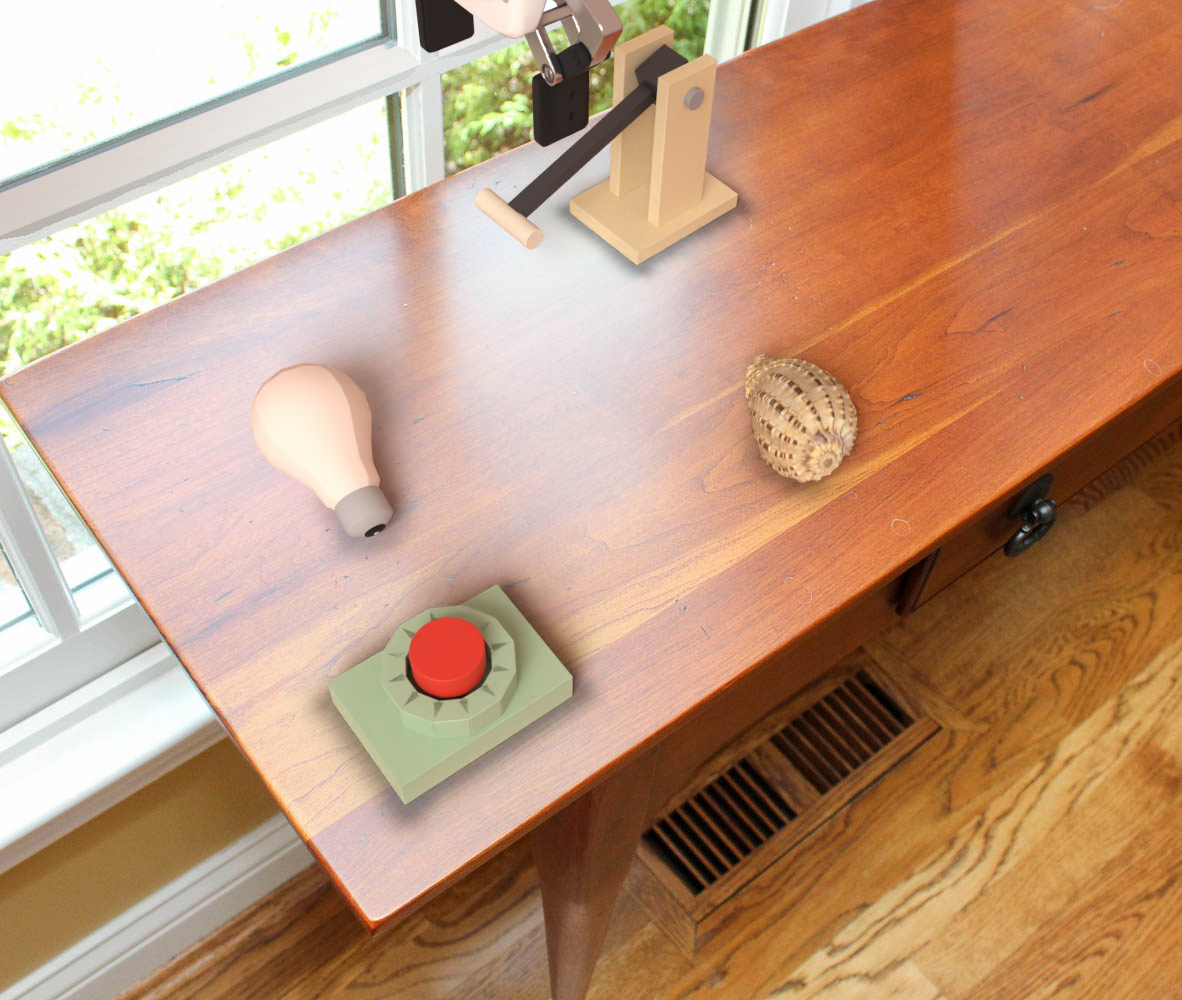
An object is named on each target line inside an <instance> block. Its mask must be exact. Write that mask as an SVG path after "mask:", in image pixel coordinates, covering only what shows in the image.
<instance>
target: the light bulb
mask: <svg viewBox="0 0 1182 1000" xmlns="http://www.w3.org/2000/svg"><path fill="white" fill-rule="evenodd" d="M249 425H250V429H251V432H252V435H253V439H254V442H255V446H256V449H257V451H258V452H259V453H261V455H262V456H263V457H264V458H265V460H267V461H268V462H269V464H270V465H271V466H273V467H274V468H276V469H278V470H279V471H281V472H282V473H284V474H287V475H288V476H290V477H292V478H293V479H295V480H296V481H298V482H299V483H301V484H302V485H303V486H305V487H307V489H310V490H311V491H313V492H314V494H316V496H317V497H318V499H319V500H320V501H321V502H322V504H323V505H324V506H325V508H327V509H330V510H333V511H334V513H335V516H336V517H337V518H338V520H339V522H340V524H341V525H342V528H343V529H344V530H345V532H346V534H347V535H348V536H349V537H352V538H371V537H375V536H377V535H379V534H380V533H382V531H384V530H385V528H386V527H387V525H388V523H389V522H390V520H391V519H392V517H393V515H394V510H393V508H392V506H391V505H390V503H389V501H388V500H387V498H386V496H385V495H384V492H383V491H382V488H380V483H381V478H380V475H379V473H378V471H377V468H376V466H375V463H374V459H373V446H372V445H373V444H372V411H371V409H370V405H369V403H368V400H367V396H366V393H365V392H364V391H363V390H362V388H360V387H359V386H358V385H357V383H355V381H354V380H353V379H352V378H351V377H349V376H348V375H347V374H346V373H344V372H342V371H340V370H338V369H336V368H333V367H331V366H329V365H328V364H324V363H323V364H322V363H309V362H302V363H299V364H295V365H291V366H287V367H284V368H281V369H280V370H278V371H277V372H275V373H274V374H273V375H272V376H271V377H269V378H267V379H266V380H265V381H263V382H262V383H261V386H260V387H259V388H258V391H257V392H256V394H255V396H254V397H253V398H252V400H251V408H250V414H249Z"/></svg>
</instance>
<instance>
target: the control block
mask: <svg viewBox="0 0 1182 1000" xmlns="http://www.w3.org/2000/svg"><path fill="white" fill-rule="evenodd" d="M445 617H454V618H460V619H463V620H466V621H468V622H470V623H471V624H473V625H474V626H475V627H476V628H477V629H478V630H479V631H480V633H481V634H482V637H483V639H484V644H485V653H486V670H485V673H484V676H483V678H482V679H481V681H480V682H479V683H478V684H477V686H475V687H474V688H473V689H472V690H470V691H469V692H467V693H465V694H463V695H460V696H457V697H451V698H443V697H437V696H433V695H431V694H429V693H427V692H425V691H424V690H423V689H421V688H420V687H419V685H418V684H417V683H416V681H415V679H414V677H413V673H412V668H411V663H410V658H409V647H410V643H411V640H412V638H413V637H414V635H415V634H416V632H417V631H418V630H419V629H420V628H421V627H422V626H424V625H425V624H427V623H429V622H431V621H433V620H436V619H439V618H445ZM573 680H574V677H573V675H572V674H571V672H570V671H569V670H568V668H567V667H565V665H564V664H563V663H562V661H561V660H560V659H559V658H558V656H557V655H556V653H554V651H552V649H551V648H550V646H548V644H547V643H546V641H544V639H543V638H542V637H541V635H540V634H539V633H538V632H537V630H536V629H535V628H534V626H532V625H531V623H530V622H529V621H528V620H527V618H526V617H525V616H524V615H523V614H522V612H521V611H520V610H519V609H518V607H516V605H515V603H513V601H512V600H511V599H510V597H509V596H508V595H507V594H506V593H505V591H504V590H503V589H502V588H501V587H500V585H498V584H497V583H496V584H494V585H492V586H490V587H488V588H487V589H485V590H483V591H481V592H480V593H478V594H477V595H475V596H473V597H471V598H470V599H468V600H466V601H464V602H463V603H461V604H458V605H449V606H448V605H447V606H438V607H429V608H427V609H425V610H424V611H421V612H420V613H418V614H416V615H415V616H413V617H411V618H409V619H408V620H406V621H403V622H402V623H400V624H399V626H397V628H396V630H395V631H394V633H393V634H392V635H391V638H390V639H389V640H388V642H387V644H386V645H385V647H384V648H383V649H381V650H380V651H379V652H377V653H375V654H373V655H371V656H370V657H367V659H365V660H363V661H361V662H359V663H358V664H356V665H354V666H352V667H351V668H349V669H347V670H345V671H344V672H342V673H340V674H339V675H336V676H335V677H334V678H332V679H330V680H329V681H327V682H326V685H327V688H328V691H329V694H330V697H331V701H332V703H333V705H334V706H335V708H336V709H337V710H338V712H339V713H340V715H341V716H342V717H343V719H344V720H345V722H346V723H347V725H348V726H349V728H350V730H352V732H353V733H354V735H355V736H356V737H357V739H358V740H359V741H360V743H361V744H362V746H363V747H364V749H365V750H366V751H367V753H368V755H369V756H370V757H371V759H372V761H373V762H374V763H375V765H376V766H377V767H378V769H379V770H380V772H381V773H382V774H383V776H384V778H385V779H386V780H387V782H388V783H389V784H390V786H391V787H392V789H393V791H394V792H395V793H396V794H397V796H398V797H399V799H400V800H401V802H402V803H403V805H405V806H406V805H408V804H409V803H411V802H412V801H414V800H416V799H417V798H418V797H420V796H422V795H423V794H425V793H426V792H428V791H429V790H431V789H432V788H434V787H436V786H437V785H439V784H440V783H442V782H443V781H445V780H446V779H448V778H449V777H451V776H452V775H454V774H455V773H457V772H458V771H460V770H462V769H463V768H464V767H466V766H467V765H469V764H470V763H472V762H473V761H475V760H477V759H479V758H480V757H481V756H483V755H485V754H487V753H488V752H489V751H491V750H492V749H494V748H495V747H497V746H498V745H500V744H501V743H503V742H504V741H506V740H507V739H509V738H511V737H512V736H513V735H516V734H517V733H519V732H520V731H522V730H523V729H525V728H527V726H529V725H531V724H532V723H534V722H535V721H537V720H538V719H540V718H541V717H543V716H544V715H545V714H547V713H549V712H551V711H552V710H554V709H555V708H556V707H558V706H559V705H562V704H563V703H564V702H566V701H567V700H569V699H570V698H572V697H573V689H574V687H573V686H574V685H573V684H574V683H573Z"/></svg>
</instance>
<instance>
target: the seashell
mask: <svg viewBox="0 0 1182 1000" xmlns="http://www.w3.org/2000/svg"><path fill="white" fill-rule="evenodd" d="M744 377H745V378H746V381H745V383H744V389H745V398H746V399H747V405H748V407H749V408H750V409H749V413H750V414H751V424H750V430H751V433H752V436H753V437H754V439H755V440H756V442H757V446H758V450H759V453H760V455H761V456H760V457H761V458H762V459H763V461H764V463H765V464H766V465H767V466H769V467H770V468H772V469H773V470H774V471H776V472H777V473H778V474H779V475H780V476H782V477H784V478H791V479H793V480H795V481H796V482H797V483H800V484H801V483H803V484H804V483H807V482H819V481H821V480H822V478H824V477H826V476H831V474H832V472H833V471H835V469H837V468H838V467H839V466H840V465H841V464H842V463H843V459H844V457H845V456H850V455H851V453H852V450H853V448H854V445H855V443H856V439H857V437H858V433H859V424H858V411H857V408H856V407H855V404H854V402H853V401H852V399H851V396H850V394H849V393H848V390H846V387H845V386H844V385H843V384H842V383H841V382H840V381H839V379H838V378H837V377H835V376H834V375H833V374H832V373H830V372H829V371H827V370H825V369H824V368H822V367H820V366H818V365H816V364H814V363H813V362H811V361H808V360H805V359H801V358H794V357H793V358H777V357H773V356H771V355H768V354H766V353H762V354H760V355H757V356H756V357H755V358H753V360H752V362H751V364H749V366H747V368H746V373H745V376H744Z"/></svg>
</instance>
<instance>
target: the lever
mask: <svg viewBox="0 0 1182 1000" xmlns="http://www.w3.org/2000/svg"><path fill="white" fill-rule="evenodd" d="M688 62H689V60H688V59H687V58H686V57H684V56H683V55H681V54H680V53H678V51H676V50H675V49H671V48H670V47H668V46H667V45H666V44H664V45H662V46H661V47H660V48H659V49H658V50H657V51H656V52H655V53H653V54H652V55H651V56H650V57H649V58H648V59H647V60H646V61H645V62H643V63H642V64H641V65H640V66H639V67H638V68H637V69H636V70H635V74H636V77H637V81H638V84H639V86H638V87H637V88H636V89H635V90H633V91H632V92H631V93H630V94H629V95H628V96H627V97H626V98H625V99H623V100H622V101H621V102H620V103H619V104H618V105H617V106H616V107H615V108H613V109H611V110H610V111H608V112H607V113H606V115H604V116H603V117H601V119H600V120H599V121H597V123H595V124H594V125H593V126H592V127H591V128H590V129H589V130H587V132H585V133H584V135H582V136H581V137H580V138H579V139H578V140H577V141H576V142H574V143H573V144H572V145H571V146H570V147H569V148H568V149H566V151H565V152H563V153H562V154H561V155H560V156H559V157H557V159H556V160H554V161H553V162H552V163H550V165H549V166H548V167H547V168H546V169H544V170H543V171H542V172H541V173H540V174H539V175H538V176H537V177H536V178H534V180H533V179H532V181H531V182H530V183H529V184H528V185H526V186H525V187H524V188H523V189H522V190H521V191H520V192H519V193H517V194H516V195H515V197H512V199H511V200H510V201H508V202H507V201H506V200H505V199H504V198H502V196H500V195H498V194H497V193H496V192H495V191H494V190H492V189H491V188H489V187H485V188H482V189H481V190H479V191H478V192H477V193H476V195H475V197H474V206H475V207H476V208H477V209H478V210H479V211H481V212H482V213H483V215H485V216H487V217H488V218H489V219H490V220H492V221H493V222H494V223H495V224H496V225H498V226H499V227H500V228H502V229H503V230H504V231H505V232H506V233H507V234H509V235H510V236H511V237H512V238H513V239H515V240H516V241H517V242H518V243H520V244H521V245H522V246H524V247H525V248H526V249H527V250H534V249H536V248H538V247H539V246H540V244H541V243H542V242H543V239H544V232H543V230H542V229H541V228H539V227H538V226H537V225H536V224H535V223H533V222H532V221H531V220H529V217H530V216H531V215H532V214H533V213H534V212H535V211H537V210H538V209H539V208H540V207H541V206H542V205H543V204H544V203H546V201H548V199H549V198H551V196H553V195H554V194H555V193H556V192H558V190H559V189H561V188H562V187H563V186H564V185H565V184H566V183H567V182H568V181H569V180H571V179H572V178H573V177H574V176H575V175H576V174H577V173H578V172H579V171H581V169H583V168H584V167H585V166H586V165H587V164H588V163H589V162H590V161H592V160H593V158H594V157H596V156H597V155H599V153H600V152H601V151H603V150H604V149H605V148H606V147H608V145H609V144H611V141H612V140H613V139H614V138H615V137H617V136H618V135H619V134H620V133H621V132H622V131H623V130H624V129H625V128H626V127H628V126H629V125H630V124H631V123H632V122H633V121H634V120H635V119H636V118H637V117H639V116H640V115H641V114H642V113H643V112H644V111H645V110H646V109H647V108H648V107H650V106H651V105H652V104H655V105H656V99H657V85H658V77H660V76H662V75H664V74H666V73H668V72H670V71H672V70H674V69H676V68H678V67H680V66H682V65H684V64H686V63H688Z"/></svg>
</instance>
